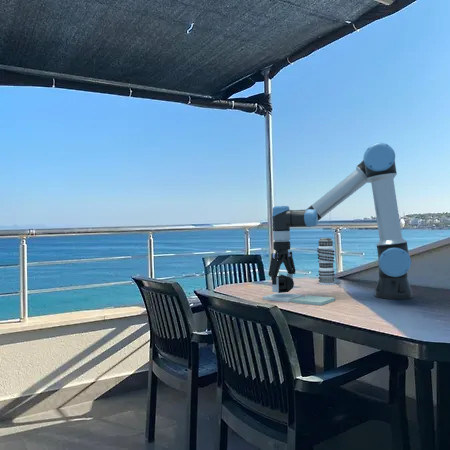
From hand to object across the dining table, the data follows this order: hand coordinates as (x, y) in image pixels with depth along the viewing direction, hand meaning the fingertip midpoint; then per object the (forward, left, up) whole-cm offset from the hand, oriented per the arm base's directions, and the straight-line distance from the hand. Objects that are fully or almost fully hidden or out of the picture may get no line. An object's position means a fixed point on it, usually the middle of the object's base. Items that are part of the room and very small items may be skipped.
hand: (283, 290), depth 186 cm
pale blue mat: (0, 0, -4) cm, 4 cm away
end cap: (0, 0, 0) cm, 1 cm away
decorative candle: (-52, -5, -4) cm, 53 cm away
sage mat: (0, +15, -4) cm, 15 cm away
